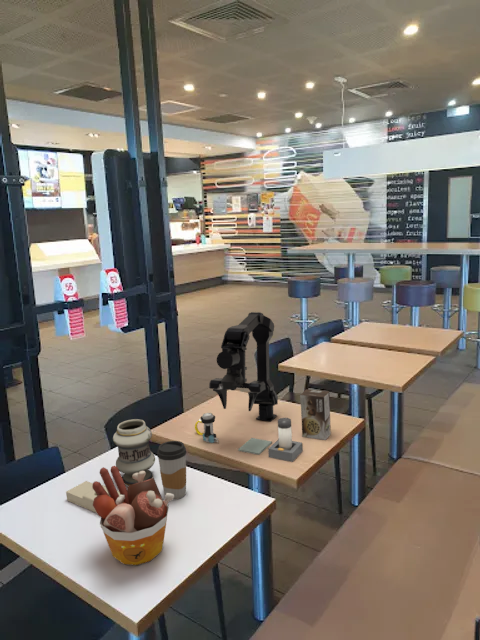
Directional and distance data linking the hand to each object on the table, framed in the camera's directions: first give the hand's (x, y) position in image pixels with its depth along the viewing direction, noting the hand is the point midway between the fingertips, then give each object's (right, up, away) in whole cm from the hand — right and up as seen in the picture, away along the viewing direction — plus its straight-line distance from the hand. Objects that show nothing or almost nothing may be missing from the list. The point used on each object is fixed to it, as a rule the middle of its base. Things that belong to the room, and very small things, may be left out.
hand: (237, 409), depth 172 cm
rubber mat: (+6, -13, +3) cm, 15 cm away
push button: (-10, -13, +9) cm, 19 cm away
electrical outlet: (-40, -22, -27) cm, 53 cm away
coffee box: (+28, -11, +9) cm, 32 cm away
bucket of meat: (-24, -25, -50) cm, 61 cm away
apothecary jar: (-31, -19, -14) cm, 39 cm away
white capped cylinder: (+16, -14, -4) cm, 22 cm away
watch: (-13, -12, +16) cm, 24 cm away
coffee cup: (-18, -20, -25) cm, 37 cm away
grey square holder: (+16, -14, -4) cm, 22 cm away
